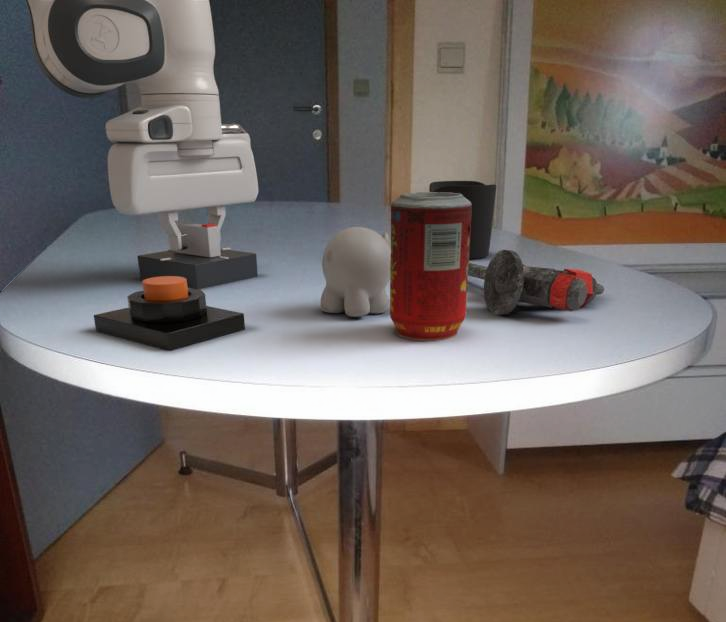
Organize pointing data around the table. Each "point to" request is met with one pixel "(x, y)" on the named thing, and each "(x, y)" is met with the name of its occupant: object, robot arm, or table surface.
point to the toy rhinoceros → (356, 272)
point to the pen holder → (474, 211)
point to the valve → (532, 285)
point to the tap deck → (200, 267)
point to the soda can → (429, 264)
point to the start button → (165, 288)
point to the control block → (169, 321)
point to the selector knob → (200, 239)
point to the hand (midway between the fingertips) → (196, 246)
